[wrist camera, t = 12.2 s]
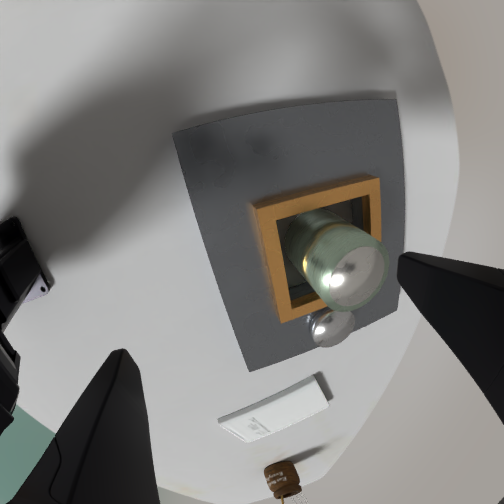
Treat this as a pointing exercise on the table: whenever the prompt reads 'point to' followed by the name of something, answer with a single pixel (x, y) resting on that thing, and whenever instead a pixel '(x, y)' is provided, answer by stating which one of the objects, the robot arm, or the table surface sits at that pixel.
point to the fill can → (336, 259)
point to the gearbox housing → (293, 212)
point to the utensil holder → (282, 480)
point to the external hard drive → (276, 411)
